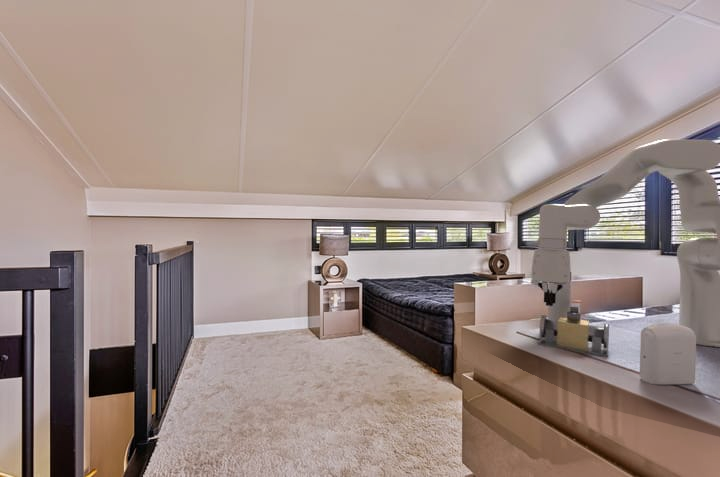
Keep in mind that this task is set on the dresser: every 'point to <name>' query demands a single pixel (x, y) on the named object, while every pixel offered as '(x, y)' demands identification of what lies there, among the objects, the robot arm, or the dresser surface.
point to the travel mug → (560, 303)
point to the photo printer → (668, 354)
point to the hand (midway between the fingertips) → (549, 305)
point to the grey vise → (574, 336)
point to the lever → (574, 311)
